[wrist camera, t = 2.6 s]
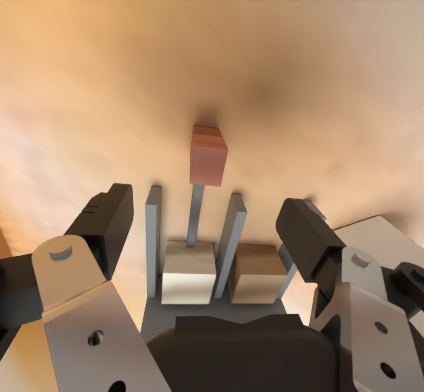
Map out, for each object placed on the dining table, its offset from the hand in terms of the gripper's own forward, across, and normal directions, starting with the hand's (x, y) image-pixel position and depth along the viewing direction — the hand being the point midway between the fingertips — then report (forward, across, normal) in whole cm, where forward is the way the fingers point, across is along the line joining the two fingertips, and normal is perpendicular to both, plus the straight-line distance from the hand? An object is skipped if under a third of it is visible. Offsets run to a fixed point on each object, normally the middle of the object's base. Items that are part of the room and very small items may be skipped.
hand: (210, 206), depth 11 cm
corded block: (+11, 0, +9) cm, 14 cm away
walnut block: (+11, -9, +16) cm, 22 cm away
